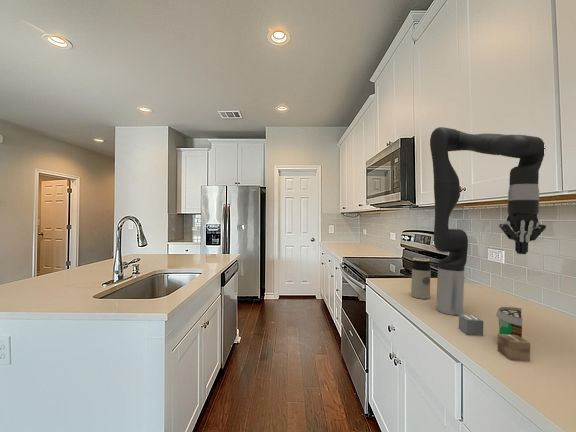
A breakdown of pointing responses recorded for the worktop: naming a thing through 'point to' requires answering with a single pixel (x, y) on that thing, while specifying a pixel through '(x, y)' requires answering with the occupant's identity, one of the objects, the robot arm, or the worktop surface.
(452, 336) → the worktop surface
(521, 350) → the walnut block
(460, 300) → the robot arm
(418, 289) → the travel mug
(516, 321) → the food container
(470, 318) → the slate block
